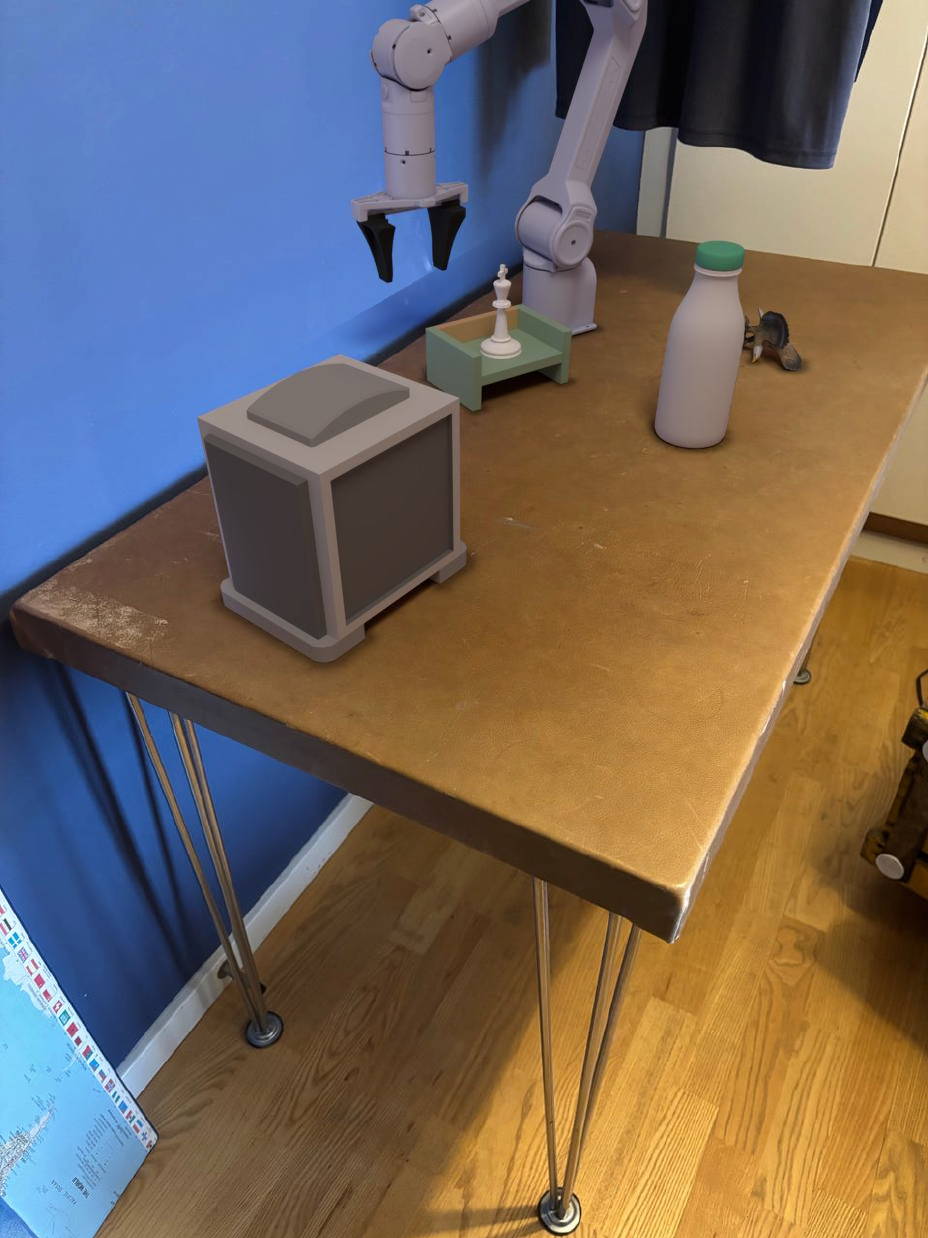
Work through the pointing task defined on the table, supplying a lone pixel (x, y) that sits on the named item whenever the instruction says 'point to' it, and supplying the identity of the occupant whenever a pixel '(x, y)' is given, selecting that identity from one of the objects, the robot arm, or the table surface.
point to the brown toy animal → (772, 338)
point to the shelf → (467, 370)
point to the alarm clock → (334, 499)
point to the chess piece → (501, 324)
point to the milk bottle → (703, 351)
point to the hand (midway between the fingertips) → (413, 274)
